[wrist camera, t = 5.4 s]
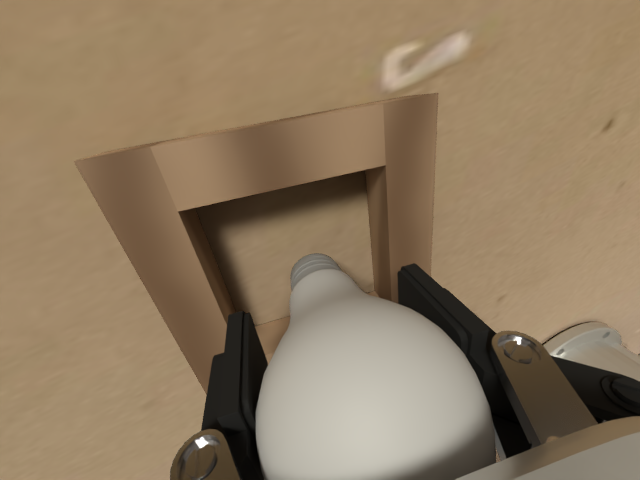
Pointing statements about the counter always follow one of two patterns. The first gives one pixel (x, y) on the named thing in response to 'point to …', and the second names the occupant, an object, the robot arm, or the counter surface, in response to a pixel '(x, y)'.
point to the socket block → (257, 177)
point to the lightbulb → (367, 390)
